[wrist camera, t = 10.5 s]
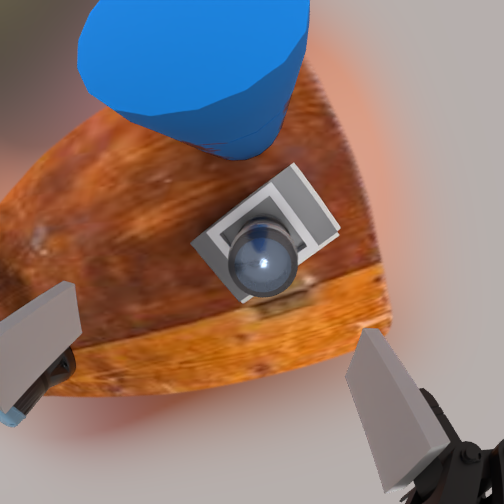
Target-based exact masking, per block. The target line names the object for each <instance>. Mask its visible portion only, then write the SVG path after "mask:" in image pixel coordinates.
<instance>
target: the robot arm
mask: <svg viewBox="0 0 504 504" xmlns="http://www.w3.org/2000/svg"><path fill="white" fill-rule="evenodd" d="M81 334H82V330H81V324H80V318H79V312H78V306H77V299H76V291H75V284H74V283H70V282H66V281H62V282H61V283H59V284H57V285H56V286H54V287H53V288H51V289H49V290H48V291H46V292H45V293H43V294H41V295H40V296H38V297H37V298H35V299H34V300H32V301H30V302H29V303H27V304H26V305H24V306H23V307H21V308H20V309H18V310H17V311H15V312H14V313H12V314H11V315H9V316H8V317H7V318H5V319H4V320H2V321H1V322H0V422H1V423H3V424H5V425H6V426H9V427H16V426H17V425H18V424H19V423H20V422H21V421H22V420H23V419H25V418H26V415H27V414H28V413H29V411H30V410H31V409H32V408H33V407H34V405H35V404H36V403H37V402H38V401H39V399H40V398H41V397H42V396H43V395H44V393H45V392H46V391H47V390H48V389H49V388H50V387H53V386H55V385H57V384H59V383H61V382H63V381H65V380H67V379H69V378H70V376H71V375H72V374H73V373H74V371H75V367H76V365H75V359H74V356H73V353H72V351H71V349H70V347H69V346H70V345H71V344H72V343H73V342H74V341H75V340H76V339H77V338H78V337H79V336H80V335H81ZM345 378H346V381H347V383H348V386H349V389H350V391H351V394H352V397H353V400H354V402H355V405H356V408H357V411H358V414H359V416H360V419H361V422H362V425H363V428H364V431H365V434H366V436H367V439H368V443H369V446H370V449H371V452H372V455H373V458H374V461H375V464H376V467H377V470H378V473H379V477H380V480H381V483H382V486H383V490H384V493H385V494H386V493H390V492H394V491H398V490H401V489H404V488H405V487H406V486H407V485H408V484H410V483H411V482H412V481H414V484H415V487H414V488H413V489H412V490H411V491H409V492H408V493H407V494H406V495H404V496H403V497H402V498H401V500H400V502H402V501H404V500H405V499H406V498H408V499H407V501H406V503H405V504H504V439H503V440H502V441H501V442H500V443H499V444H498V445H497V446H496V447H495V448H494V449H490V450H481V449H480V448H479V447H478V446H477V445H476V444H474V443H472V442H467V441H465V442H462V441H461V440H460V438H459V437H458V435H457V433H456V432H455V430H454V428H453V427H452V425H451V423H450V422H449V420H448V419H447V417H446V415H444V414H443V413H444V412H443V411H442V409H441V408H440V407H439V405H438V403H437V401H436V400H435V398H434V397H433V396H432V395H431V394H430V393H429V392H428V391H426V390H425V389H424V388H420V389H418V387H417V386H416V384H415V382H414V381H413V379H412V378H411V376H410V375H409V373H408V372H407V370H406V368H405V367H404V365H403V364H402V362H401V361H400V359H399V358H398V357H397V355H396V354H395V352H394V351H393V349H392V348H391V346H390V345H389V343H388V342H387V341H386V339H385V338H384V336H383V335H382V333H381V332H380V330H379V329H373V328H363V330H362V333H361V336H360V339H359V342H358V344H357V347H356V350H355V353H354V355H353V358H352V360H351V363H350V366H349V368H348V370H347V373H346V376H345ZM491 487H492V494H491V495H490V496H488V497H487V498H486V496H485V492H486V491H488V490H489V489H490V488H491Z"/></svg>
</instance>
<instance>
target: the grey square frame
mask: <svg viewBox="0 0 504 504" xmlns="http://www.w3.org/2000/svg"><path fill="white" fill-rule="evenodd" d="M259 214H269V215H272V216H275V217H277V218H278V219H279V220H280V221H281V222H282V223H283V224H284V225H285V226H286V227H287V229H288V231H289V233H290V236H291V238H292V239H293V241H294V243H295V246H296V248H297V252H298V265H299V264H301V263H302V262H303V261H305V260H306V259H308V258H309V257H310V256H312V255H313V254H314V253H316V252H317V251H319V250H320V249H321V248H323V247H324V246H325V245H327V244H328V243H329V242H331V241H332V240H334V239H335V238H336V237H338V236H339V234H338V232H337V231H338V230H339V229H340V226H339V225H338V223H337V222H336V220H335V219H334V217H333V216H332V214H331V213H330V211H329V210H328V208H327V207H326V206H325V204H324V203H323V201H322V200H321V198H320V197H319V196H318V194H317V193H316V191H315V190H314V189H313V187H312V186H311V185H310V183H309V182H308V180H307V179H306V178H305V176H304V175H303V174H302V172H301V171H300V170H299V168H298V167H297V166H296V164H295V163H292V164H291V165H289V166H288V167H287V168H285V169H284V170H282V171H281V172H280V173H278V174H277V175H276V176H274V177H273V178H272V179H270V180H269V181H268V182H266V183H265V184H264V185H262V186H261V187H260V188H258V189H257V190H256V191H255V192H253V193H252V194H251V195H249V196H248V197H247V198H245V199H244V200H243V201H242V202H240V203H239V204H238V205H236V206H235V207H234V208H233V209H231V210H230V211H229V212H227V213H226V214H225V215H224V216H222V217H221V218H220V219H219V220H217V221H216V222H215V223H214V224H212V225H211V226H210V227H209V228H207V229H206V230H205V231H204V232H202V233H201V234H200V235H199V236H198V237H197V238H195V239H194V240H193V241H192V242H191V245H192V246H193V247H194V248H195V250H196V251H197V252H198V253H199V254H200V256H201V257H202V258H203V259H204V261H205V262H206V263H207V264H208V265H209V267H210V268H211V269H212V270H213V271H214V273H215V274H216V275H217V276H218V277H219V279H220V280H221V281H222V282H223V283H224V284H225V286H226V287H227V288H228V289H229V290H230V292H231V293H232V294H233V295H234V296H235V297H236V299H237V300H238V301H239V302H240V301H241V302H242V303H245V302H246V301H248V300H249V299H250V298H252V297H253V296H252V295H249V294H247V293H245V292H243V291H242V290H241V289H239V288H238V287H237V286H236V285H235V283H234V282H233V280H232V278H231V276H230V273H229V269H228V254H229V249H230V246H231V244H232V242H233V240H234V239H235V237H236V236H237V234H238V232H239V230H240V228H241V227H242V225H243V224H244V223H245V222H246V221H247V220H249V219H250V218H251V217H253V216H255V215H259Z"/></svg>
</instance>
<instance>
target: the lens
mask: <svg viewBox="0 0 504 504" xmlns="http://www.w3.org/2000/svg"><path fill="white" fill-rule="evenodd" d="M297 268H298V252H297V248H296V246H295V243H294V241H293V239H292V238H291V236H290V233H289V231H288V229H287V227H286V226H285V225H284V224H283V223H282V222H281V221H280V220H279V219H278V218H277V217H275V216H272V215H269V214H259V215H255V216H253V217H251V218H250V219H249V220H247V221H246V222H245V223H244V224H243V225H242V227H241V228H240V230H239V232H238V234H237V236H236V237H235V239H234V240H233V242H232V244H231V246H230V249H229V254H228V269H229V273H230V276H231V278H232V280H233V282H234V283H235V285H236V286H237V287H238V288H239V289H241V290H242V291H243V292H245V293H247V294H249V295H252V296H255V297H271V296H274V295H277V294H279V293H281V292H283V291H284V290H285V289H287V288H288V287H289V286H290V285H291V283H292V282H293V280H294V278H295V276H296V273H297Z"/></svg>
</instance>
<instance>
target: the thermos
mask: <svg viewBox="0 0 504 504" xmlns="http://www.w3.org/2000/svg"><path fill="white" fill-rule="evenodd" d="M309 13H310V0H100V1H99V2H98V3H97V5H96V6H95V7H94V8H93V10H92V11H91V12H90V14H89V16H88V19H87V21H86V23H85V26H84V28H83V31H82V33H81V35H80V38H79V41H78V62H77V63H78V64H77V69H78V71H79V73H80V75H81V77H82V80H83V82H84V84H85V86H86V88H87V90H88V92H89V93H90V94H91V95H93V96H94V97H96V98H97V99H98V100H100V101H101V102H103V103H104V104H106V105H107V106H109V107H110V108H111V109H113V110H114V111H116V112H117V113H119V114H120V115H122V116H123V117H124V118H126V119H127V120H129V121H130V122H133V123H135V124H138V125H141V126H143V127H146V128H148V129H151V130H154V131H156V132H159V133H161V134H164V135H166V136H169V137H171V138H174V139H176V140H178V141H181V142H183V143H185V144H188V145H190V146H193V147H195V148H197V149H199V150H202V151H204V152H206V153H208V154H211V155H214V156H217V157H220V158H224V159H227V160H247V159H249V158H252V157H254V156H257V155H260V154H261V153H262V152H263V151H265V150H266V149H267V148H268V147H269V146H271V144H272V143H273V141H274V140H275V138H276V136H277V135H278V133H279V131H280V129H281V127H282V124H283V121H284V118H285V115H286V111H287V108H288V105H289V102H290V99H291V95H292V92H293V89H294V86H295V83H296V80H297V77H298V73H299V70H300V67H301V64H302V61H303V58H304V55H305V52H306V45H307V36H308V28H309V15H310V14H309Z"/></svg>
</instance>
